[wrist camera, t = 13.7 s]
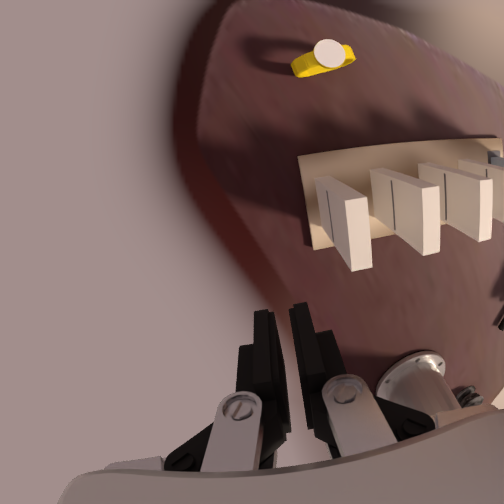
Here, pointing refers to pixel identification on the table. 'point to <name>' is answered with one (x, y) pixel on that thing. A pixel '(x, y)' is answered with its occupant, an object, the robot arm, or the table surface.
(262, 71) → the table surface
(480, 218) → the domino
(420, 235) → the domino
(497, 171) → the domino
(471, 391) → the dark grey tall piece
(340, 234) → the domino
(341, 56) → the yellow wristwatch
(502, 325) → the handheld radio
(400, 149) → the board
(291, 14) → the table surface
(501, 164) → the domino
